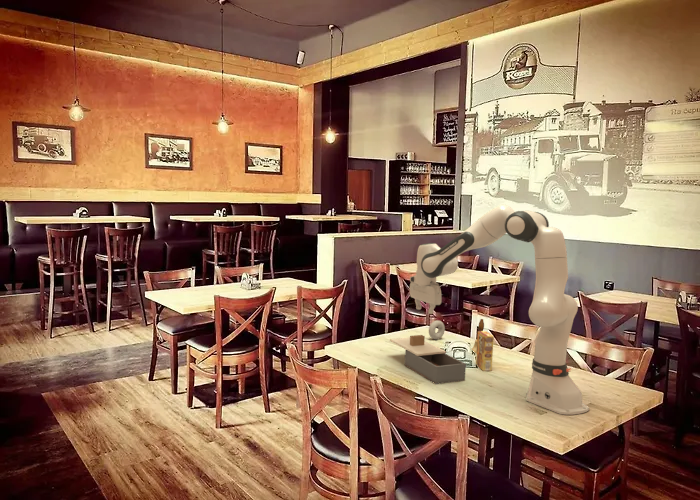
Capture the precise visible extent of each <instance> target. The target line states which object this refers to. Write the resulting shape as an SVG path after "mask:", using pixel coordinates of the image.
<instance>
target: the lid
mask: <svg viewBox="0 0 700 500" xmlns="http://www.w3.org/2000/svg"><path fill="white" fill-rule="evenodd" d="M425 338H426V337H425V335H423V334H415V335H410V336H409V337H399V338H390V339H389V342H392V343H393V344H395V345H396V346H398V347H400V348H402V349H404V350H408V351H410V352H411V353H413V354H415V355H417V356H422V355H432V354H442V353H445V354H447V351H446V350H444V349H442V348H440V347H439V346H436V345H434V344H432V343H430V342H428V341H426V340H425Z"/></svg>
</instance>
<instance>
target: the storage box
mask: <svg viewBox="0 0 700 500" xmlns="http://www.w3.org/2000/svg"><path fill="white" fill-rule="evenodd" d="M404 350H405V351H404V352H405V353H404V354H405V355H404V366H405V367H406V368H408V369H410V370H412V371H413V372H415V373H416V374H418V375H420V376H421V377H423V378H425V379H426V380H428V381H429V380H430V382H431V381H432V382H431V383H433V382H434V383H435V385H438V384H439V383H440V384H446V383H454V382H463V381H466V370H467V368H466V366H467V363H465V362H464V361H461V360H459V359H457V358H455V357H453V356H451V355H449V354H447V353H442V354H432V355H422V356H417V355H415V354H413V353H411V352H410V351H408V350H406V349H404ZM434 383H433V384H434Z"/></svg>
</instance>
